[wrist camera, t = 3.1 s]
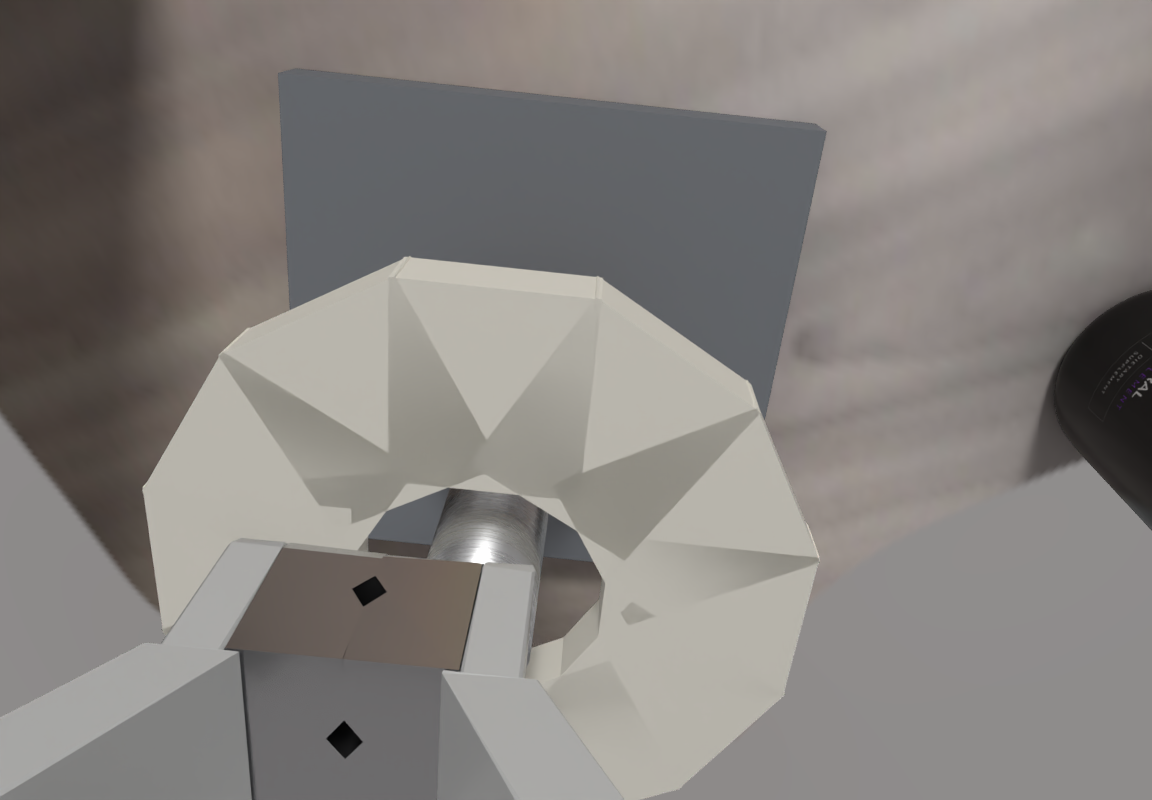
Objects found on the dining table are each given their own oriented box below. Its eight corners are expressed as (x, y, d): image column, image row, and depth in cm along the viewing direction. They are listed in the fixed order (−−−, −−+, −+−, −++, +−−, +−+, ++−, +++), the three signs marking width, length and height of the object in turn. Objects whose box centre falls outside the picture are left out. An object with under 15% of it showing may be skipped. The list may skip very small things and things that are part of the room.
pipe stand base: (815, 124, 27) (826, 131, 25) (726, 552, 34) (731, 576, 32) (294, 68, 27) (278, 72, 25) (313, 509, 33) (300, 531, 32)
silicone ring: (864, 303, 16) (882, 327, 15) (736, 806, 21) (743, 850, 20) (141, 227, 16) (106, 245, 15) (206, 751, 21) (184, 792, 20)
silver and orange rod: (641, 272, 27) (661, 521, 15) (617, 449, 30) (617, 786, 17) (438, 251, 27) (285, 481, 15) (433, 430, 30) (300, 754, 17)
